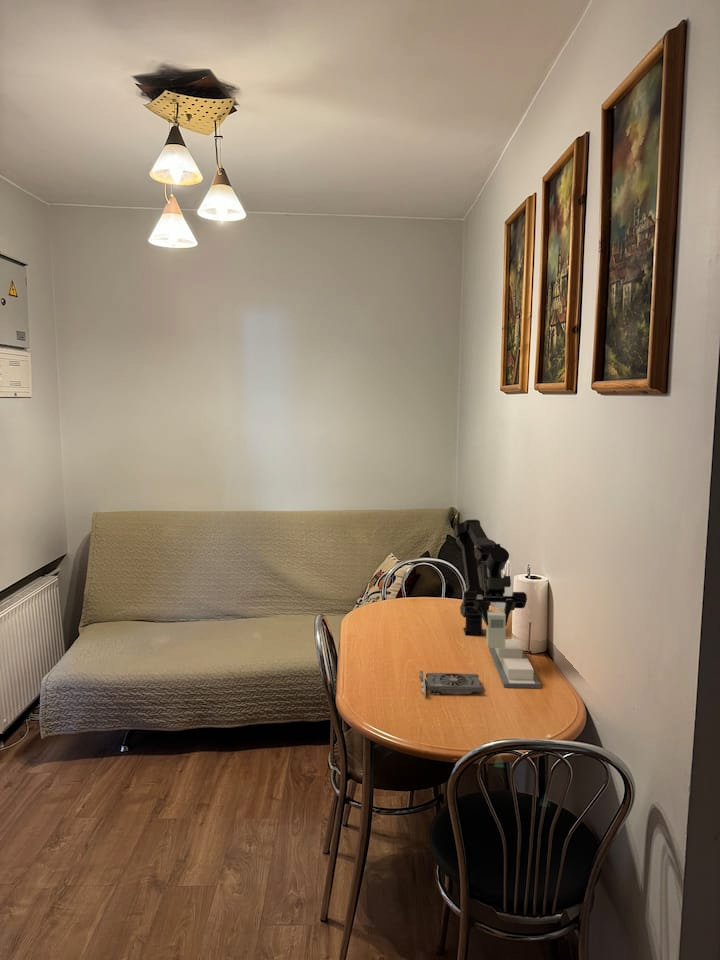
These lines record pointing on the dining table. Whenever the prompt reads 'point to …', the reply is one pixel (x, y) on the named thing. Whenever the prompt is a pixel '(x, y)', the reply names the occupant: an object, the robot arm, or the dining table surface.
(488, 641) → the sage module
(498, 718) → the dining table surface
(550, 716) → the dining table surface
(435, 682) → the graphics card
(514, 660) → the board
